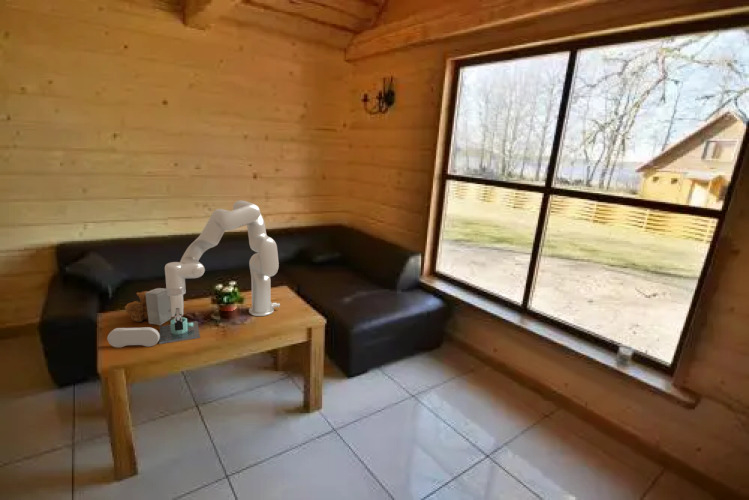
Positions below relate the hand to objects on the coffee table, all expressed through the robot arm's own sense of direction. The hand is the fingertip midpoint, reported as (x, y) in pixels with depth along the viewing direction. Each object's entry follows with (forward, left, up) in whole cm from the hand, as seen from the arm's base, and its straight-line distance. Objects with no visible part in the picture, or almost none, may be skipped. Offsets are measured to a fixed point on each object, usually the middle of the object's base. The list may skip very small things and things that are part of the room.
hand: (178, 325), depth 173 cm
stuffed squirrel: (+15, -22, -4) cm, 27 cm away
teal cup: (-1, 0, -3) cm, 3 cm away
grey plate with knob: (0, 0, -4) cm, 4 cm away
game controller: (+17, +6, -4) cm, 19 cm away
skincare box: (+8, -16, -4) cm, 18 cm away
